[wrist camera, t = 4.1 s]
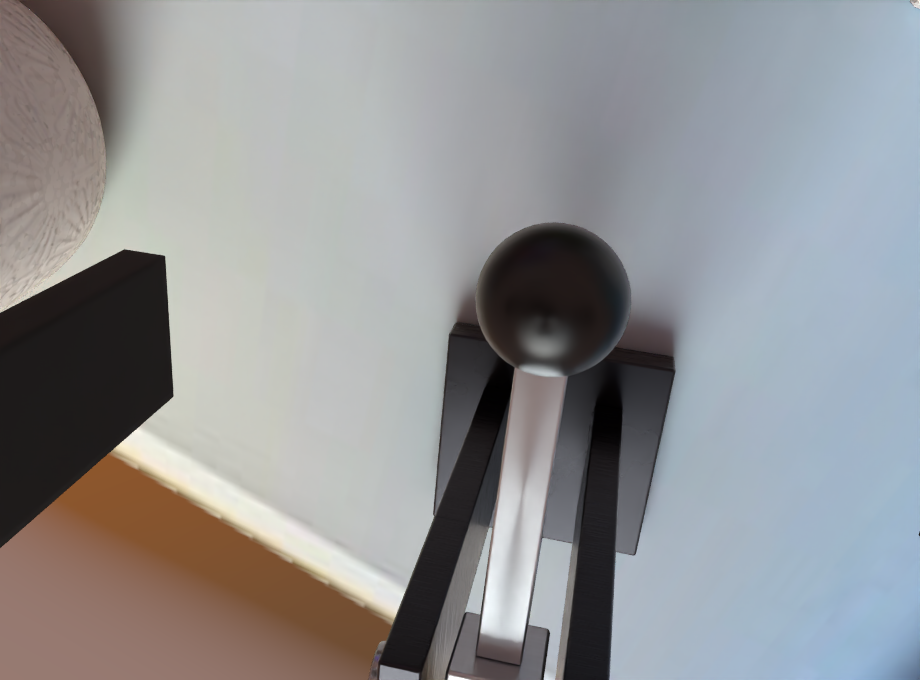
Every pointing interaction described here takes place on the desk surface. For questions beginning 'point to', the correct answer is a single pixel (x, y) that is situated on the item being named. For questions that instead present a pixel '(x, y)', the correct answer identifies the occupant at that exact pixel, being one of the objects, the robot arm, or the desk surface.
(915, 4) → the light switch
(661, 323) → the desk surface
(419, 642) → the black upright frame
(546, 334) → the flush lever
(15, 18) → the planter
